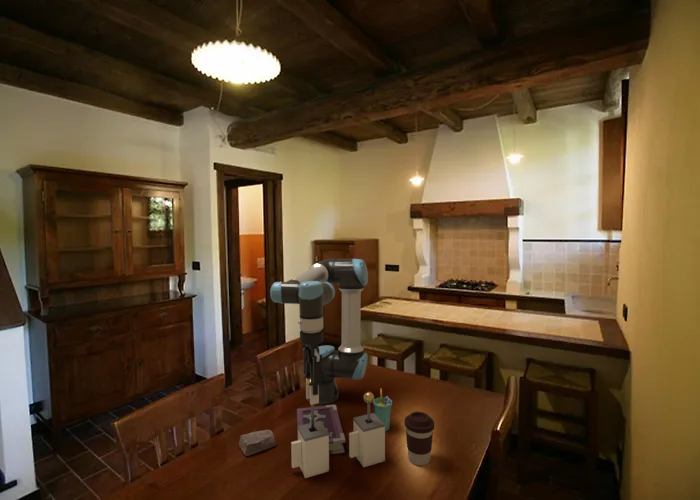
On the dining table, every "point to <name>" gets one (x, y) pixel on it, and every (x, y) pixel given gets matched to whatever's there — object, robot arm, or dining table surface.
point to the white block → (367, 440)
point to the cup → (383, 409)
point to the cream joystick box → (311, 450)
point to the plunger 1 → (311, 409)
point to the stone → (256, 442)
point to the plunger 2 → (368, 403)
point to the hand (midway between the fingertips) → (312, 400)
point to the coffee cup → (419, 437)
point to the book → (325, 424)
